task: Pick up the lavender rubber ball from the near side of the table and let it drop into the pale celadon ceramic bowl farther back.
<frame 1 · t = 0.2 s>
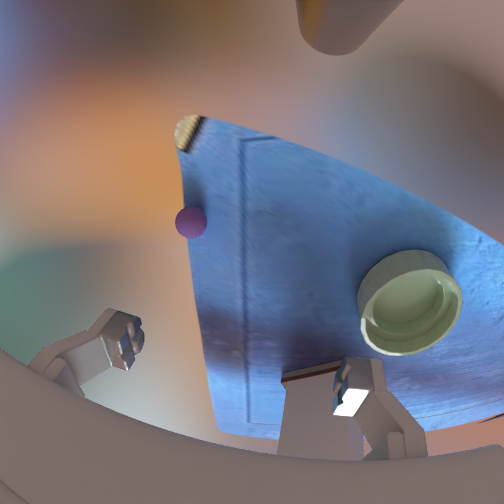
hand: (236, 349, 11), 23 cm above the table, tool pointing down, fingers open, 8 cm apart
brown-rimmed upright block: (323, 384, 45), on the table
ball: (191, 222, 33), point 2 cm above the table
bowl: (404, 292, 34), on the table
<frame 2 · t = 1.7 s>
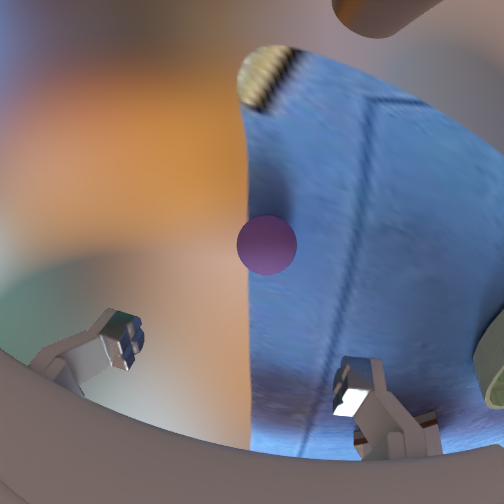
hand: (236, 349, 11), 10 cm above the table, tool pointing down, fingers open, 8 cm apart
brown-rimmed upright block: (398, 437, 30), on the table
ball: (266, 244, 18), point 2 cm above the table
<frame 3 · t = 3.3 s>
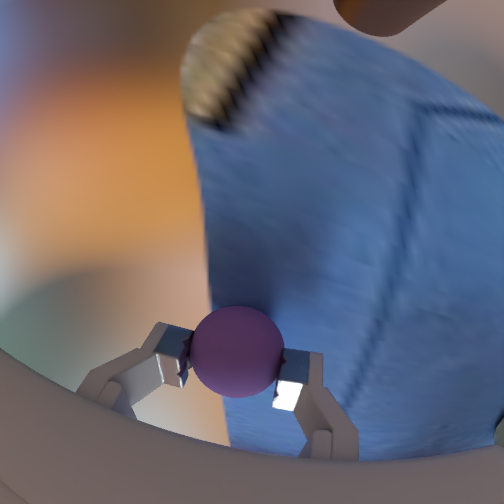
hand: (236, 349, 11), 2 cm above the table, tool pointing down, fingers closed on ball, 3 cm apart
ball: (237, 351, 11), point 2 cm above the table, touching gripper
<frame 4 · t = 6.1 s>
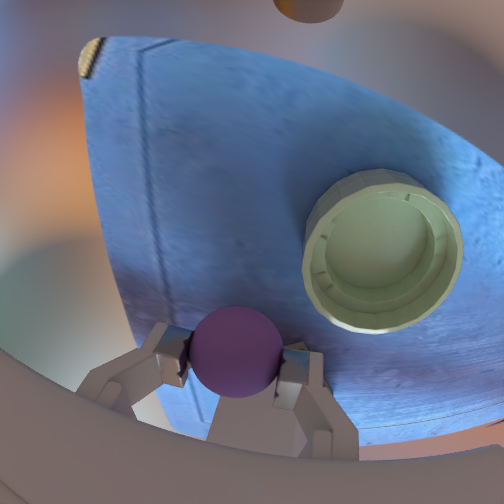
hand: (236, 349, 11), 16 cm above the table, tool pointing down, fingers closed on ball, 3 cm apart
brown-rimmed upright block: (281, 377, 36), on the table
ball: (236, 352, 11), point 16 cm above the table, touching gripper
bowl: (376, 240, 25), on the table
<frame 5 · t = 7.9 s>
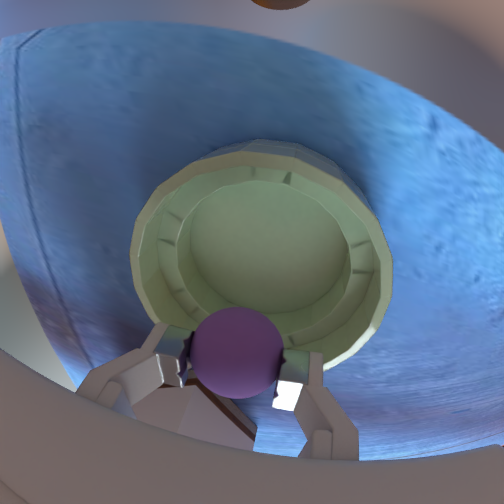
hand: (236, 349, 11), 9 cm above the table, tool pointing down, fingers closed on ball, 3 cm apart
brown-rimmed upright block: (193, 403, 29), on the table
ball: (237, 353, 11), point 9 cm above the table, touching gripper
bowl: (267, 247, 18), on the table
when the fingers open (5 cm above the table, at t = 9.2 s): ball drops 3 cm, resting on bowl.
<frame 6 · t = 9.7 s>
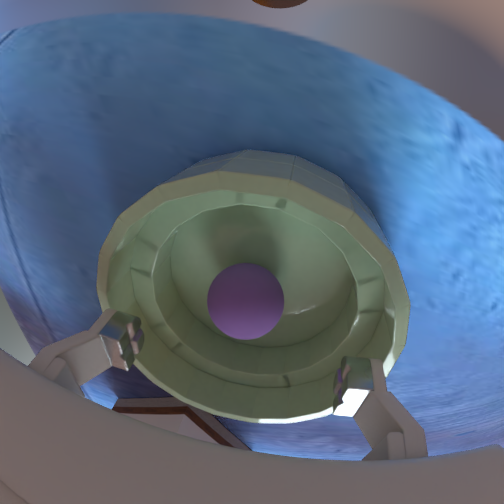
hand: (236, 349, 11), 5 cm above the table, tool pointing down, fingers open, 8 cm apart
brown-rimmed upright block: (184, 427, 27), on the table
ball: (245, 301, 14), point 2 cm above the table, tilted 11°, touching bowl
bowl: (259, 275, 16), on the table
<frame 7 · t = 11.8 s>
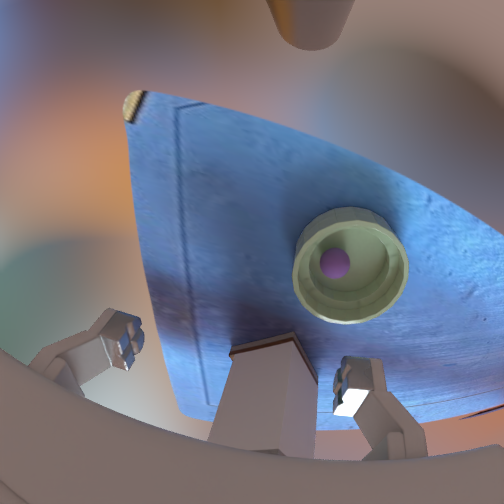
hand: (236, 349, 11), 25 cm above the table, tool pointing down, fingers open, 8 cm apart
brown-rimmed upright block: (276, 362, 46), on the table
ball: (334, 263, 33), point 2 cm above the table, tilted 59°, touching bowl
bowl: (347, 256, 35), on the table
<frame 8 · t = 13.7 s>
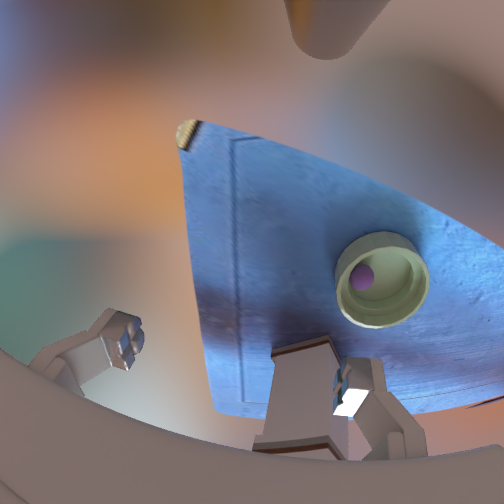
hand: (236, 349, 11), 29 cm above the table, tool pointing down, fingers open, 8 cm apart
brown-rimmed upright block: (310, 361, 51), on the table
ball: (361, 277, 38), point 2 cm above the table, tilted 96°, touching bowl
bowl: (378, 271, 40), on the table
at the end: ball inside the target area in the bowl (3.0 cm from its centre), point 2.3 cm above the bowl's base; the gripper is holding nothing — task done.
